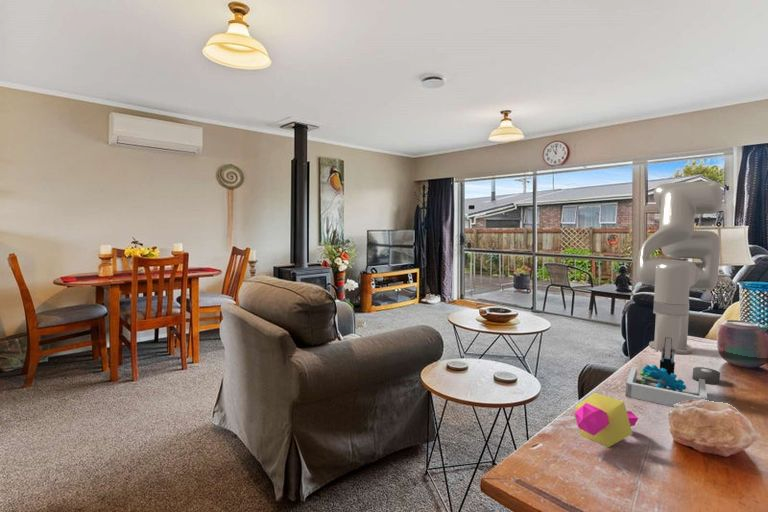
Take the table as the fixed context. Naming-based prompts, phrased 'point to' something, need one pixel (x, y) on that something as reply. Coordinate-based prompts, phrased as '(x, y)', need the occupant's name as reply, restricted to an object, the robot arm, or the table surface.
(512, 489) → the table surface
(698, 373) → the wheel
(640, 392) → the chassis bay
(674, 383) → the gear
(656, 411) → the table surface
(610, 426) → the toy
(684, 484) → the table surface
